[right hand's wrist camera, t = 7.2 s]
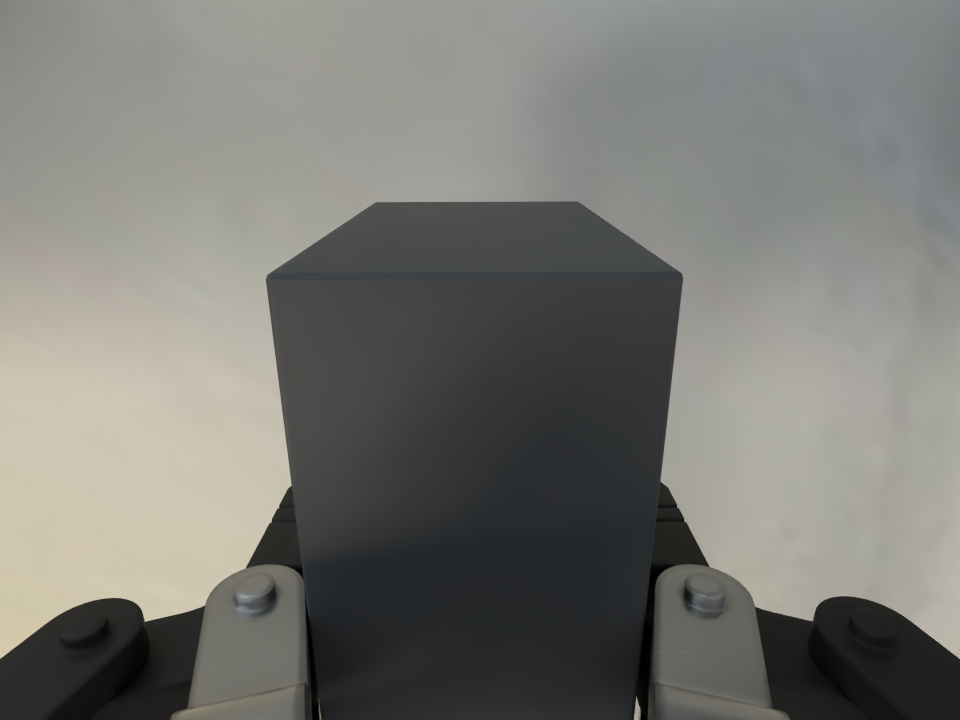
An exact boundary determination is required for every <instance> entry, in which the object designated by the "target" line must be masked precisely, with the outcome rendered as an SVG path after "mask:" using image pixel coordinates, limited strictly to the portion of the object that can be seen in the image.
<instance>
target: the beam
mask: <svg viewBox="0 0 960 720" xmlns="http://www.w3.org/2000/svg"><path fill="white" fill-rule="evenodd" d="M266 283H267V291H268V299H269V307H270V315H271V323H272V331H273V339H274V347H275V355H276V363H277V371H278V379H279V387H280V395H281V403H282V411H283V419H284V427H285V435H286V442H287V450H288V458H289V466H290V474H291V482H292V490H293V498H294V506H295V514H296V522H297V530H298V538H299V546H300V554H301V562H302V570H303V578H304V586H305V594H306V602H307V610H308V618H309V625H310V633H311V641H312V649H313V657H314V665H315V673H316V681H317V689H318V697H319V705H320V713H321V720H634V711H635V702H636V693H637V684H638V675H639V667H640V658H641V649H642V640H643V631H644V622H645V613H646V604H647V595H648V586H649V577H650V568H651V559H652V551H653V542H654V533H655V524H656V515H657V506H658V497H659V488H660V479H661V470H662V461H663V452H664V443H665V435H666V426H667V417H668V408H669V399H670V390H671V381H672V372H673V363H674V354H675V345H676V336H677V327H678V319H679V310H680V301H681V292H682V283H683V277H682V273H680V272H679V271H677V270H676V269H674V268H673V267H672V266H670V265H669V264H667V263H666V262H664V261H663V260H661V259H660V258H659V257H657V256H656V255H654V254H653V253H651V252H650V251H648V250H647V249H646V248H644V247H643V246H641V245H640V244H638V243H637V242H635V241H634V240H632V239H631V238H630V237H628V236H627V235H625V234H624V233H622V232H621V231H619V230H618V229H617V228H615V227H614V226H612V225H611V224H609V223H608V222H606V221H605V220H604V219H602V218H601V217H599V216H598V215H596V214H595V213H593V212H592V211H591V210H589V209H588V208H586V207H585V206H583V205H582V204H580V203H579V202H377V203H374V204H373V205H371V206H370V207H368V208H367V209H365V210H364V211H362V212H361V213H359V214H358V215H356V216H355V217H353V218H352V219H350V220H349V221H347V222H346V223H344V224H343V225H341V226H340V227H338V228H337V229H335V230H334V231H332V232H331V233H329V234H328V235H326V236H325V237H323V238H322V239H320V240H319V241H318V242H316V243H315V244H313V245H312V246H310V247H309V248H307V249H306V250H304V251H303V252H301V253H300V254H298V255H297V256H295V257H294V258H292V259H291V260H289V261H288V262H286V263H285V264H283V265H282V266H280V267H279V268H277V269H276V270H274V271H273V272H271V273H270V274H268V275H267V278H266Z"/></svg>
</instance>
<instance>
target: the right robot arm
mask: <svg viewBox="0 0 960 720" xmlns="http://www.w3.org/2000/svg"><path fill="white" fill-rule="evenodd" d="M636 696H637V700H638V703H639V706H640V716H639V720H960V659H959V658H958V657H956V656H955V655H954V654H952V653H951V652H950V651H948V650H947V649H946V648H945V647H943V646H942V645H941V644H939V643H938V642H937V641H935V640H934V639H933V638H932V637H930V636H929V635H928V634H926V633H925V632H924V631H922V630H921V629H920V628H919V627H917V626H916V625H915V624H913V623H912V622H911V621H909V620H908V619H907V618H905V617H904V616H902V615H901V614H899V613H897V612H895V611H894V610H892V609H890V608H888V607H886V606H883V605H881V604H878V603H876V602H873V601H869V600H866V599H862V598H856V597H847V596H842V597H833V598H829V599H826V600H824V601H823V602H821V603H820V604H819V605H818V606H817V608H816V611H815V614H814V619H813V622H812V621H808V620H804V619H799V618H795V617H791V616H786V615H782V614H777V613H773V612H769V611H766V610H762V609H760V608H757V607H755V605H754V602H753V599H752V597H751V595H750V593H749V592H748V591H747V589H746V588H745V587H744V586H743V585H742V584H741V583H740V582H738V581H737V580H736V579H734V578H733V577H731V576H729V575H728V574H726V573H724V572H721V571H719V570H716V569H713V568H710V567H709V565H708V563H707V561H706V559H705V557H704V555H703V554H702V552H701V550H700V548H699V546H698V544H697V542H696V540H695V538H694V536H693V534H692V533H691V531H690V529H689V527H688V525H687V523H686V522H684V517H683V515H682V513H681V512H680V510H679V508H677V504H676V502H675V500H674V498H673V496H672V494H671V493H670V491H669V489H668V488H667V487H666V486H665V485H664V484H662V483H661V482H660V488H659V497H658V506H657V515H656V524H655V533H654V542H653V551H652V559H651V568H650V577H649V586H648V595H647V604H646V613H645V622H644V631H643V640H642V649H641V658H640V667H639V675H638V684H637V693H636ZM0 720H321V716H320V708H319V697H318V689H317V681H316V673H315V665H314V657H313V649H312V641H311V633H310V625H309V618H308V610H307V602H306V594H305V586H304V578H303V570H302V562H301V554H300V546H299V538H298V530H297V522H296V514H295V506H294V498H293V490H292V486H291V487H290V488H288V490H287V492H286V494H285V496H284V498H283V499H282V501H281V503H280V505H279V509H277V511H276V513H275V514H274V516H273V518H272V523H270V524H269V526H268V528H267V529H266V531H265V533H264V535H263V537H262V539H261V541H260V543H259V544H258V546H257V548H256V550H255V552H254V554H253V556H252V558H251V559H250V561H249V563H248V565H247V567H246V569H244V570H241V571H239V572H236V573H234V574H232V575H231V576H229V577H227V578H226V579H224V580H223V581H222V582H220V583H219V584H218V585H217V586H216V587H215V588H214V589H213V591H212V592H211V593H210V595H209V597H208V599H207V602H206V605H205V606H203V607H201V608H198V609H195V610H193V611H189V612H185V613H182V614H177V615H173V616H169V617H164V618H160V619H156V620H151V621H147V622H145V621H144V617H143V613H142V610H141V608H140V607H139V606H138V605H137V604H135V603H134V602H132V601H129V600H126V599H121V598H108V599H100V600H95V601H91V602H88V603H84V604H82V605H79V606H76V607H74V608H72V609H70V610H68V611H65V612H64V613H62V614H60V615H58V616H57V617H55V618H54V619H52V620H51V621H49V622H48V623H47V624H45V625H44V626H43V627H41V628H40V629H39V630H38V631H36V632H35V633H34V634H32V635H31V636H30V637H28V638H27V639H26V640H25V641H23V642H22V643H21V644H19V645H18V646H17V647H15V648H14V649H13V650H11V651H10V652H9V653H8V654H6V655H5V656H4V657H2V658H1V659H0Z"/></svg>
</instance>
